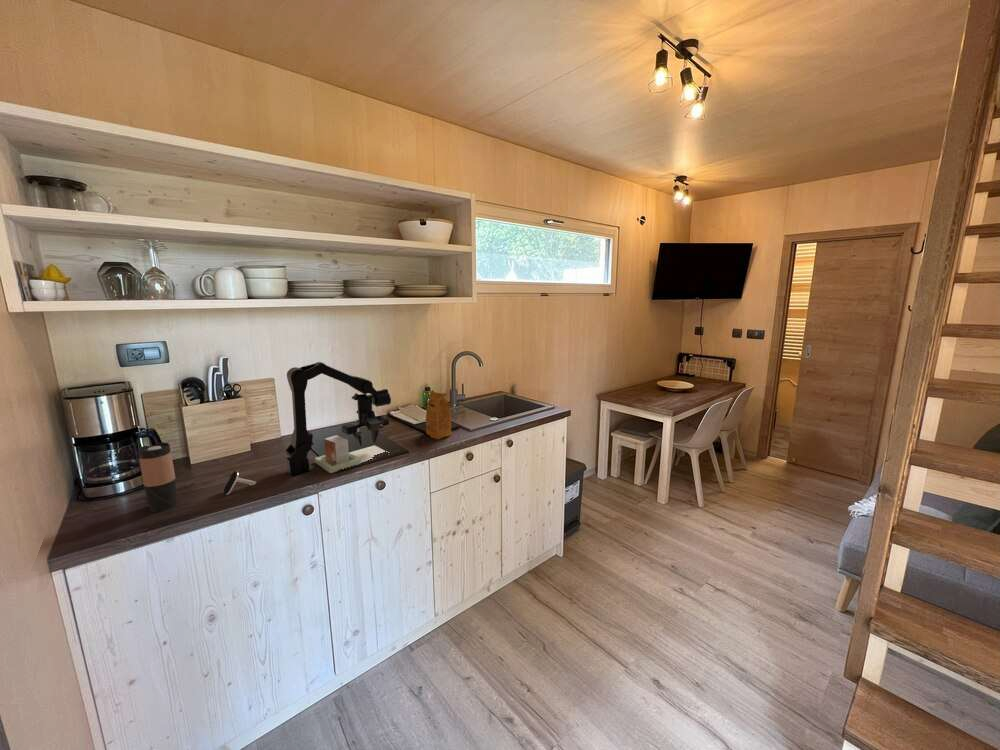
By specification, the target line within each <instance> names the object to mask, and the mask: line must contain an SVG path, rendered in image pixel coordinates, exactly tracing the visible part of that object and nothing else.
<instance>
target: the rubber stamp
mask: <svg viewBox="0 0 1000 750" xmlns="http://www.w3.org/2000/svg"><path fill="white" fill-rule="evenodd" d="M239 474H240V472H239V471H234V472H233V473H232V474H231V475H230V477H229V479H228V481H227V482H226V483H225V487H224V489H223V494H224V495H225V496H228V495H229V494H231V492H232V491H233V488H234V487H235V485H236V483H241V484H246V485H249V486H255V485H256V484H257V481H255V480H251V479H246V478H241V477H239Z"/></svg>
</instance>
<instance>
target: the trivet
mask: <svg viewBox="0 0 1000 750" xmlns="http://www.w3.org/2000/svg"><path fill="white" fill-rule="evenodd" d="M385 451H386V450H384V449H382V448H380V447H379V446H377V445H371V446H368V447H364V448H360V449H357V450H353V451H351V452H350V451H349V453H351V454H353V455H354V456H356V457H358V458H359V459H361V463H364V462H368V460H369V461H371V460H370V459H372V460H374V459H373V458H372V457H374V455H377V454H380V453H383V452H385ZM386 452H388V451H386ZM388 453H390V452H388Z"/></svg>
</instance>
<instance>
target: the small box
mask: <svg viewBox="0 0 1000 750" xmlns="http://www.w3.org/2000/svg"><path fill="white" fill-rule="evenodd" d="M323 441H324V455H325V456H326V462H327V463H329V464H331V465H337V464H340V463H343V462H347V461H350V460H349V452H350V451H349V439H348V438H345V437H342V436H339V435H337V434H336V435H333V436H330V437H326V438H324V439H323Z"/></svg>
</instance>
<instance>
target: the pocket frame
mask: <svg viewBox="0 0 1000 750" xmlns="http://www.w3.org/2000/svg"><path fill="white" fill-rule="evenodd" d="M314 463H315V464H316V465H318V466H319V467H321V468H322V469H324V470H325V471H326V472H328V473H330V474H332V473H336V472H339V471H341V470H340V469H342V470H345V469H347V467H348V468H350V467H351V466H352V467H355V466H358V465H360V464H361V459H359V458H358V457H356V456H354V455H353V454H351V453H349V461H347V462H343V463H340V464H337V465H333V466H332V465H330V464H329V463H327V462H326V456H325V454H323V455H321V456H317V457H314ZM354 465H355V466H354ZM361 465H362V464H361ZM344 468H345V469H344ZM338 470H339V471H338Z"/></svg>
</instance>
